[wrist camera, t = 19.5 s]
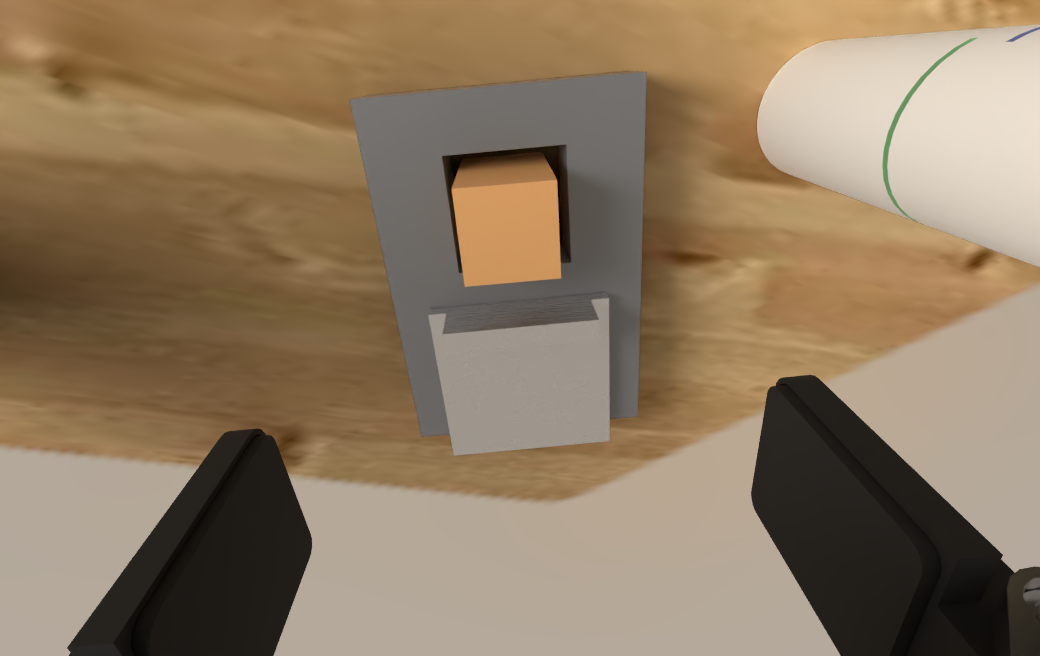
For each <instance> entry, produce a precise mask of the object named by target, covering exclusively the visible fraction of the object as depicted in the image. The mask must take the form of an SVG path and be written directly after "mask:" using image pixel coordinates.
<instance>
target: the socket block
mask: <svg viewBox="0 0 1040 656" xmlns="http://www.w3.org/2000/svg"><path fill="white" fill-rule="evenodd" d="M646 76H647V72H639V71H622V72H611V73H601V74H590V75H579V76H568V77H558V78H547V79H536V80H526V81H515V82H504V83H494V84H483V85H472V86H462V87H451V88H440V89H429V90H419V91H408V92H397V93H387V94H376V95H367V96H363V97H359V98H354V99H350V104H351V109H352V113H353V118H354V123H355V127H356V132H357V137H358V141H359V146H360V151H361V155H362V160H363V165H364V169H365V174H366V179H367V183H368V188H369V193H370V197H371V202H372V207H373V211H374V216H375V221H376V225H377V230H378V235H379V240H380V244H381V249H382V254H383V258H384V263H385V268H386V272H387V277H388V282H389V286H390V291H391V296H392V300H393V305H394V310H395V314H396V319H397V324H398V328H399V333H400V338H401V342H402V347H403V352H404V356H405V361H406V366H407V370H408V375H409V380H410V384H411V389H412V394H413V398H414V403H415V408H416V412H417V417H418V422H419V426H420V431H421V436H422V437H425V436H436V435H446V434H450V432H449V426H448V421H447V415H446V410H445V404H444V399H443V393H442V388H441V382H440V377H439V371H438V366H437V360H436V355H435V349H434V344H433V338H432V333H431V327H430V322H429V316H428V314H429V311H430V309H435V308H446V307H457V306H467V305H478V304H489V303H499V302H510V301H521V300H531V299H542V298H553V297H563V296H574V295H584V294H595V293H607V295H608V297H609V395H610V419H616V418H627V417H638V387H639V348H640V309H641V271H642V232H643V193H644V154H645V115H646ZM554 145H558V151H559V173H560V194H561V215H562V236H563V241H560V261H561V278H560V279H549V280H537V281H526V282H514V283H503V284H491V285H480V286H468V287H465V285H464V278H463V270H462V263H461V255H460V248H459V241H458V233H457V226H456V218H455V211H454V203H453V196H452V186H453V176H452V169H451V161H450V155H458V154H469V153H480V152H490V151H501V150H512V149H522V148H533V147H544V146H554Z"/></svg>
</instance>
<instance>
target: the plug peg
mask: <svg viewBox="0 0 1040 656" xmlns="http://www.w3.org/2000/svg"><path fill="white" fill-rule="evenodd" d="M452 196H453V203H454V211H455V218H456V226H457V233H458V241H459V248H460V255H461V263H462V270H463V278H464V285H465V287H468V286H480V285H491V284H503V283H514V282H526V281H537V280H549V279H560V278H561V261H560V237H559V213H558V189H557V179H556V177H555V175H554V173H553V171H552V169H551V168H550V166H549V164H548V162H547V160H546V158H545V157H544V155H543V153H542V152H538V153H526V154H514V155H503V156H491V157H479V158H468V159H462V160H461V163H460V166H459V169H458V172H457V175H456V178H455V181H454V183H453V186H452Z"/></svg>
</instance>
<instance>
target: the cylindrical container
mask: <svg viewBox="0 0 1040 656" xmlns="http://www.w3.org/2000/svg"><path fill="white" fill-rule="evenodd" d="M757 134H758V139H759V144H760V146H761V149H762V151H763V153H764V155H765V156H766V158H767V159H768V160H769V162H770V163H771V164H772V165H773V166H775V167H776V168H777V169H778V170H780V171H782V172H785V173H787V174H789V175H792V176H794V177H797V178H800V179H803V180H805V181H808V182H811V183H813V184H816V185H819V186H821V187H824V188H827V189H829V190H832V191H835V192H838V193H840V194H843V195H846V196H848V197H851V198H854V199H856V200H859V201H862V202H864V203H867V204H870V205H873V206H875V207H878V208H881V209H883V210H886V211H889V212H891V213H894V214H897V215H899V216H902V217H905V218H908V219H910V220H913V221H916V222H919V223H921V224H924V225H926V226H929V227H932V228H934V229H937V230H940V231H943V232H945V233H948V234H951V235H953V236H956V237H959V238H961V239H964V240H967V241H969V242H972V243H975V244H978V245H980V246H983V247H986V248H988V249H991V250H994V251H996V252H999V253H1002V254H1004V255H1007V256H1010V257H1013V258H1015V259H1018V260H1021V261H1023V262H1026V263H1029V264H1031V265H1034V266H1037V267H1040V24H1039V25H1026V26H1012V27H999V28H986V29H972V30H959V31H945V32H932V33H918V34H905V35H892V36H879V37H866V38H852V39H839V40H828V41H824V42H820V43H817V44H814V45H812V46H810V47H808V48H805V49H804V50H802V51H801V52H799V53H798V54H796V55H795V56H793V57H792V58H791V59H790V60H789V61H788V62H787V63H786V64H784V65H783V66H782V67H781V68H780V70H779V71H778V72H777V74H776V75H775V76H774V78H773V79H772V80H771V82H770V84H769V86H768V87H767V89H766V91H765V93H764V95H763V98H762V101H761V104H760V107H759V112H758V118H757Z"/></svg>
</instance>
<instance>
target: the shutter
mask: <svg viewBox="0 0 1040 656" xmlns="http://www.w3.org/2000/svg"><path fill="white" fill-rule="evenodd" d="M428 316H429V322H430V327H431V333H432V338H433V344H434V349H435V355H436V360H437V366H438V371H439V377H440V382H441V388H442V393H443V399H444V404H445V410H446V415H447V421H448V426H449V432H450V437H451V443H452V448H453V454H454V456H456V455H467V454H477V453H488V452H499V451H509V450H520V449H530V448H541V447H552V446H562V445H573V444H584V443H594V442H605V441H610V395H609V297H608V295H607V293H595V294H584V295H574V296H563V297H553V298H542V299H531V300H521V301H510V302H499V303H489V304H478V305H467V306H457V307H446V308H435V309H430V311H429V314H428Z"/></svg>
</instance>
